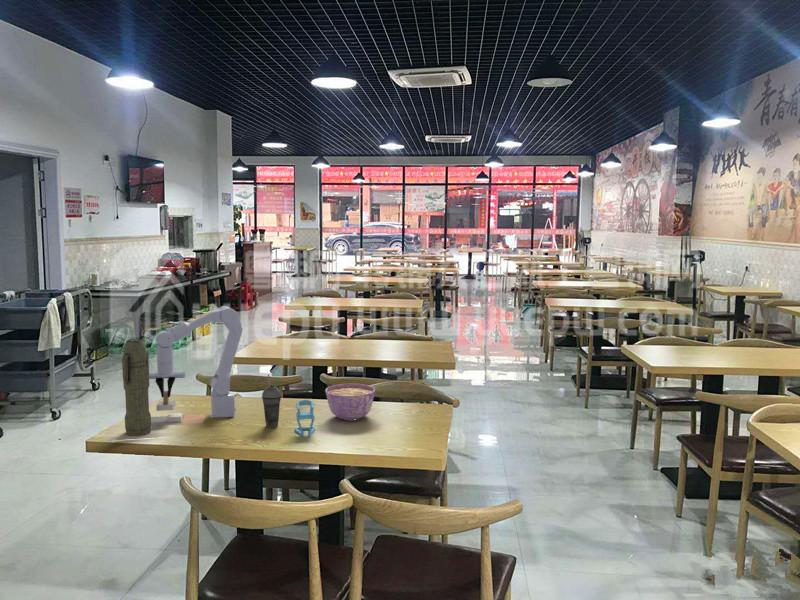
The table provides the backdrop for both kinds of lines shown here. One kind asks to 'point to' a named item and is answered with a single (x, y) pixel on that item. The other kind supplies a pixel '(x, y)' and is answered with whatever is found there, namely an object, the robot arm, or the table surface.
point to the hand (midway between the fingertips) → (166, 396)
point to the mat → (185, 420)
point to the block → (174, 417)
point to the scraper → (165, 403)
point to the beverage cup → (271, 405)
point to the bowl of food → (350, 400)
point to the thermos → (136, 387)
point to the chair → (305, 417)
